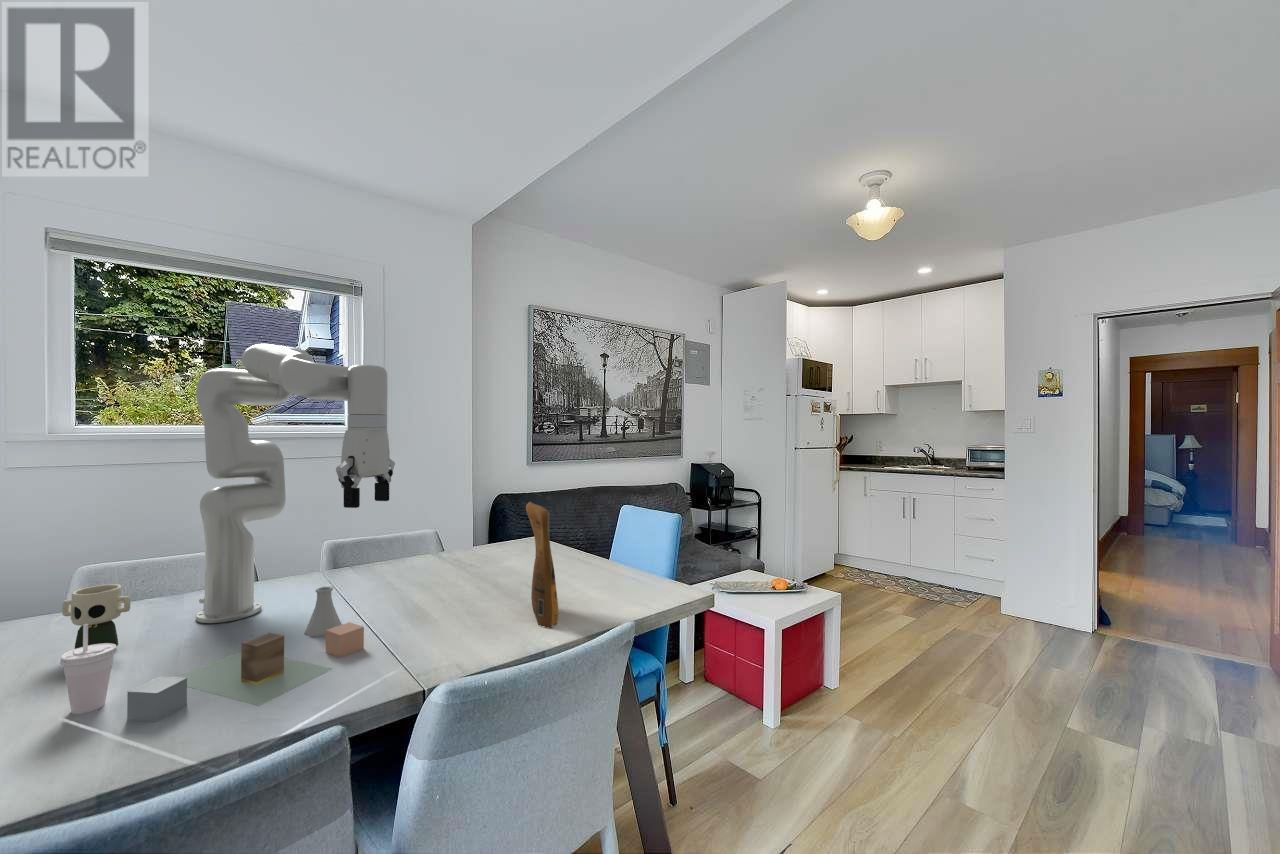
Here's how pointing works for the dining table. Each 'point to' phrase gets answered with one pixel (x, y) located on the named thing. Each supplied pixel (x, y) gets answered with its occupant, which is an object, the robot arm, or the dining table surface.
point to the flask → (323, 614)
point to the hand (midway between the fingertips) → (367, 504)
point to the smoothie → (88, 674)
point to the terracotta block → (344, 639)
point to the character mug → (96, 612)
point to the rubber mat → (227, 683)
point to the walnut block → (262, 658)
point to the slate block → (156, 699)
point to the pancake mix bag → (543, 569)
